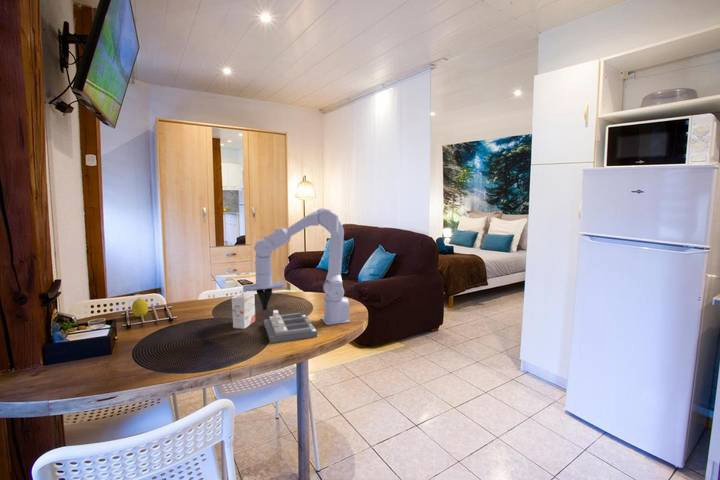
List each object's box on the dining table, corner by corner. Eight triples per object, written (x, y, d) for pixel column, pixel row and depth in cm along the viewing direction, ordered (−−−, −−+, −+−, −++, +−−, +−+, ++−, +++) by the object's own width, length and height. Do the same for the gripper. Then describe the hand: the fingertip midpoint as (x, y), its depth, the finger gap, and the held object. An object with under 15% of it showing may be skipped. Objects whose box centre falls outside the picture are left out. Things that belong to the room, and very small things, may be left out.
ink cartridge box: (244, 320, 139) (242, 283, 137) (255, 321, 138) (254, 284, 136) (232, 328, 130) (230, 289, 128) (244, 329, 129) (243, 290, 127)
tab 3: (285, 329, 124) (285, 318, 124) (287, 333, 120) (287, 322, 120) (274, 330, 123) (273, 320, 122) (275, 334, 119) (275, 324, 118)
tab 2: (283, 323, 129) (282, 313, 129) (284, 327, 126) (284, 317, 125) (271, 325, 128) (271, 315, 127) (273, 329, 124) (273, 318, 124)
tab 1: (280, 318, 134) (280, 309, 134) (282, 322, 131) (282, 312, 130) (269, 320, 133) (269, 310, 132) (271, 323, 129) (271, 313, 129)
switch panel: (305, 319, 140) (305, 311, 139) (317, 336, 123) (317, 327, 123) (264, 324, 134) (263, 316, 133) (270, 343, 117) (270, 334, 117)
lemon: (151, 316, 141) (150, 297, 140) (136, 321, 137) (135, 301, 135) (144, 314, 144) (143, 295, 143) (129, 318, 139) (128, 298, 138)
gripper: (282, 269, 134) (282, 303, 136) (242, 271, 129) (243, 307, 131) (285, 273, 128) (285, 309, 129) (243, 276, 122) (244, 313, 124)
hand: (264, 309), depth 130 cm, fingers closed
